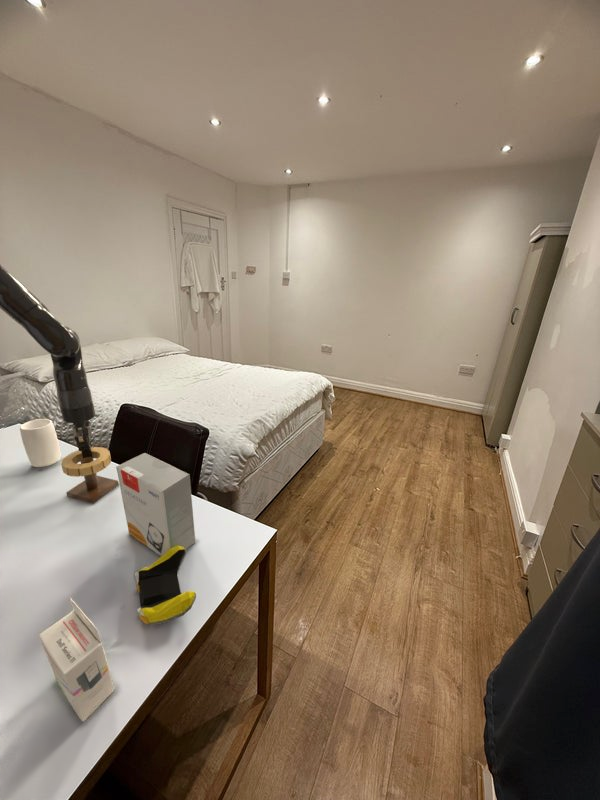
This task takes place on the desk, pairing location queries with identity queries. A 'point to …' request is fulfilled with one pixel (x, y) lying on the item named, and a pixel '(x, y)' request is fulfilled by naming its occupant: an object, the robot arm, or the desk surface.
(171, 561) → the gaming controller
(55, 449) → the cup
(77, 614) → the ink box
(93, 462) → the ring
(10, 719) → the desk surface
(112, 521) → the desk surface
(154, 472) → the hard drive box
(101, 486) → the stand
